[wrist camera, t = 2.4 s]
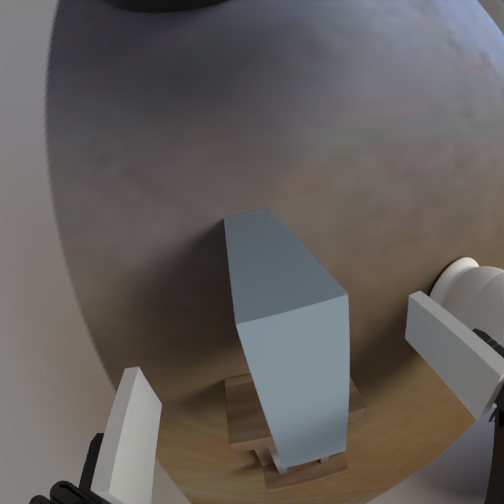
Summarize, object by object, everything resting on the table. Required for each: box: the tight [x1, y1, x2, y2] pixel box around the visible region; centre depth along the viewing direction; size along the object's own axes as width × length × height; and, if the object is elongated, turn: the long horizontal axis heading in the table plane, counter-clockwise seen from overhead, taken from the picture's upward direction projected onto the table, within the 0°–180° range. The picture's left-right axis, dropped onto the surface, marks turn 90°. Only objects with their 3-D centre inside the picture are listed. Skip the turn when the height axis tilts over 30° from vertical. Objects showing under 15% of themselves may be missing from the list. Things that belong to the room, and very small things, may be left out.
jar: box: [429, 257, 504, 408], centre depth 16 cm, size 11×10×15 cm
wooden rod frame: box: [225, 374, 367, 493], centre depth 23 cm, size 18×10×7 cm, turn 12°
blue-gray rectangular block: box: [224, 208, 350, 468], centre depth 14 cm, size 9×3×12 cm, turn 12°
